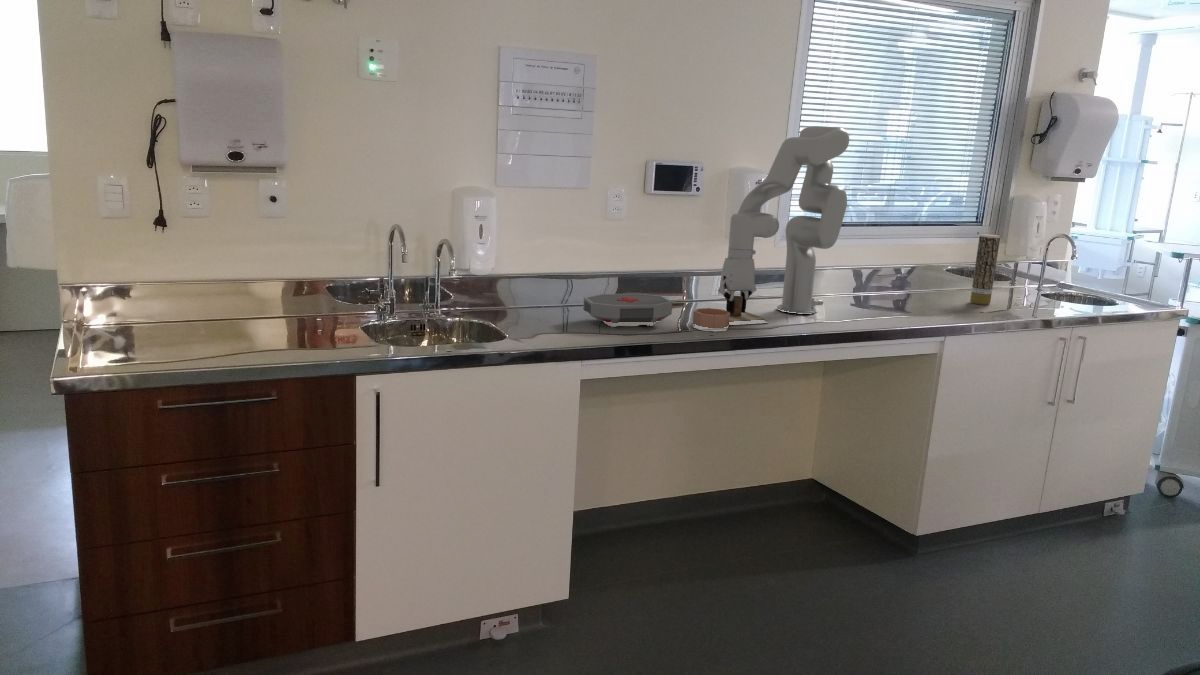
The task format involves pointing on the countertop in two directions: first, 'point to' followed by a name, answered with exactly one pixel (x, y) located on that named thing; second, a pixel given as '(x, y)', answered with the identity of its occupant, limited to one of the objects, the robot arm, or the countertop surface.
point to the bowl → (711, 317)
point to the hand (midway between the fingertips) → (735, 311)
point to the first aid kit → (628, 307)
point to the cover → (738, 312)
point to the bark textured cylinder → (985, 269)
